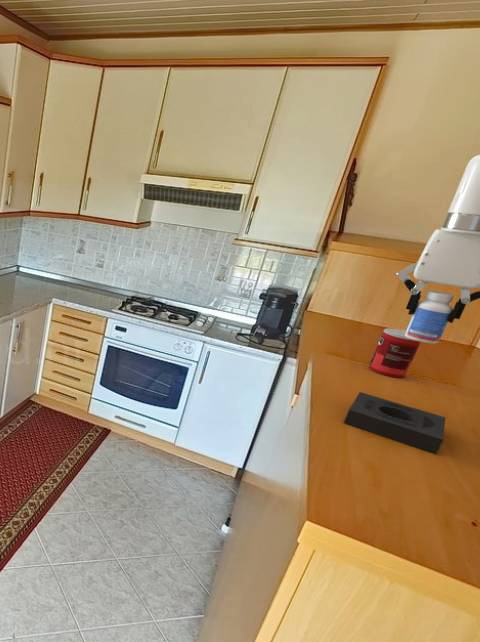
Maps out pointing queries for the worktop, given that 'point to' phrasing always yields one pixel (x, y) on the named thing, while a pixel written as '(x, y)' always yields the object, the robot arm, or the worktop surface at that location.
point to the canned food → (394, 353)
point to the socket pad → (397, 422)
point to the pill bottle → (430, 317)
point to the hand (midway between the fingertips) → (430, 316)
